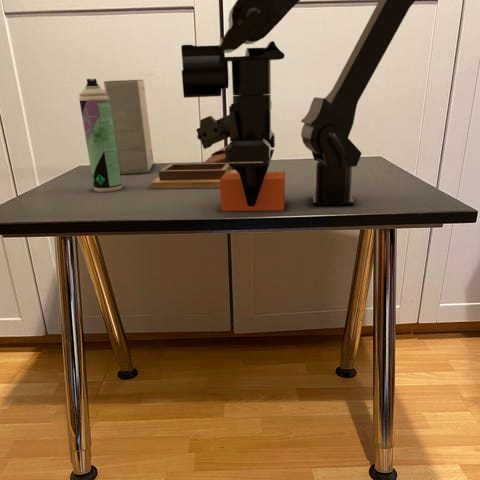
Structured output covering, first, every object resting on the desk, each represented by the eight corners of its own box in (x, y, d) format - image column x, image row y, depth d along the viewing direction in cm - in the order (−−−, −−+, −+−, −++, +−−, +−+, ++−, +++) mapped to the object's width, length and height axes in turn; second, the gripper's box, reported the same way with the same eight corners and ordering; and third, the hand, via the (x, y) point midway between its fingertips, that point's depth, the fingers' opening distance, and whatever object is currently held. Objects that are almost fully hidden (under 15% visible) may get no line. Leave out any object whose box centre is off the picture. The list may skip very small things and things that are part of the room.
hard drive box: (124, 165, 126) (113, 80, 118) (153, 163, 127) (144, 79, 118) (116, 174, 112) (102, 79, 104) (149, 173, 113) (138, 78, 104)
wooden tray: (230, 187, 94) (229, 171, 93) (151, 188, 96) (149, 173, 95) (238, 175, 107) (238, 161, 105) (168, 176, 109) (167, 162, 107)
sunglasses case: (213, 157, 129) (225, 134, 126) (236, 171, 130) (248, 148, 127) (198, 168, 113) (210, 142, 110) (224, 184, 114) (237, 159, 111)
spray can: (109, 185, 101) (93, 78, 92) (127, 187, 98) (112, 77, 89) (88, 190, 97) (69, 79, 88) (106, 192, 94) (89, 78, 85)
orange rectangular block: (283, 210, 76) (283, 178, 74) (221, 211, 77) (219, 179, 75) (284, 202, 81) (284, 171, 79) (226, 202, 83) (225, 172, 80)
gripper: (209, 95, 81) (214, 189, 88) (185, 99, 65) (194, 214, 72) (275, 93, 80) (275, 188, 87) (268, 96, 63) (269, 214, 70)
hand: (253, 199), depth 79 cm, fingers open, 8 cm apart
